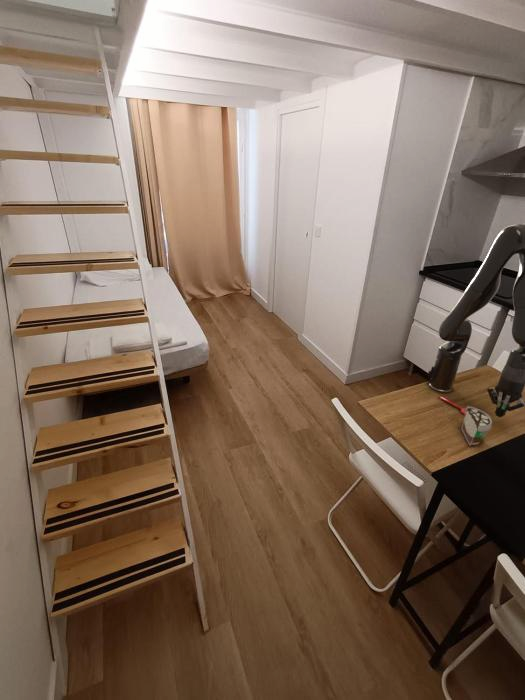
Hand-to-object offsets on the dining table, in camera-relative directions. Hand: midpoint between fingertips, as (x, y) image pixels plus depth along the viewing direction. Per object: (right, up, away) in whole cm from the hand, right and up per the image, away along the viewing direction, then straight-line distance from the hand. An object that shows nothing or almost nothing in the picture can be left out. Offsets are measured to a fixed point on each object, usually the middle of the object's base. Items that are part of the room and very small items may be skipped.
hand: (498, 415), depth 125 cm
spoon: (-8, +1, +14) cm, 16 cm away
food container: (-11, -8, -3) cm, 14 cm away
